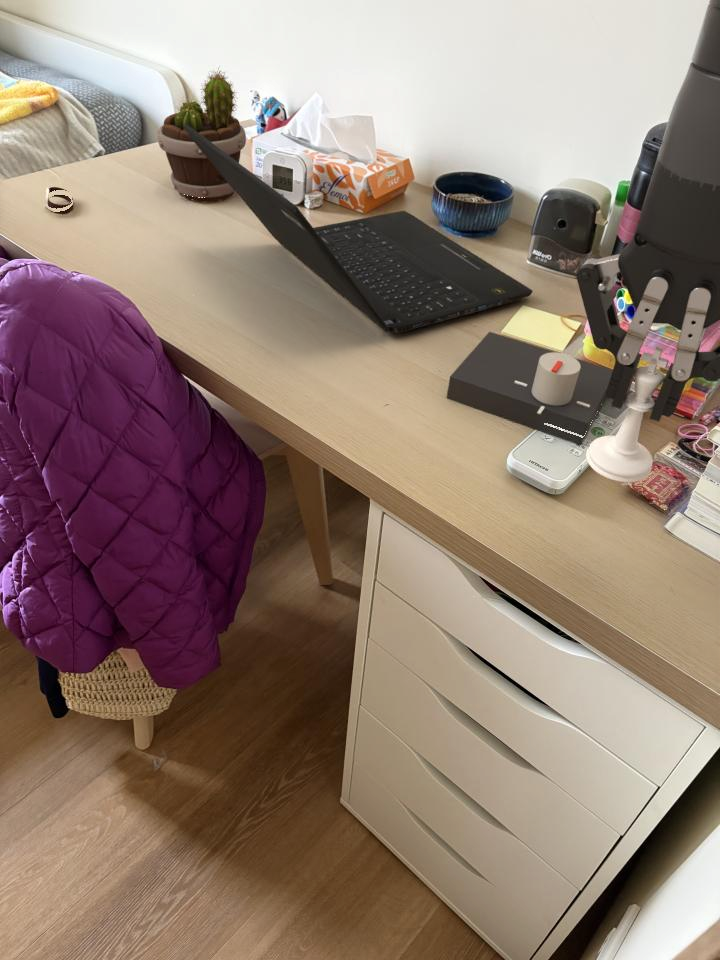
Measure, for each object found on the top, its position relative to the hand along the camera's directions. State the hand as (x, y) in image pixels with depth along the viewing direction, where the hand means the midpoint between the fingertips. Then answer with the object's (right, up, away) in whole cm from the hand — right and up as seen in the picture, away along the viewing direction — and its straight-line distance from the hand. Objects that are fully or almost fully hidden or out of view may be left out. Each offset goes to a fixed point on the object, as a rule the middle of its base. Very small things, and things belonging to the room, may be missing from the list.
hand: (638, 408), depth 52 cm
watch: (-70, +40, +67) cm, 104 cm away
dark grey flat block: (0, +5, +32) cm, 32 cm away
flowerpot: (-47, +46, +75) cm, 100 cm away
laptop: (-20, +24, +52) cm, 61 cm away
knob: (+1, +4, +27) cm, 27 cm away
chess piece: (0, -4, +4) cm, 5 cm away
